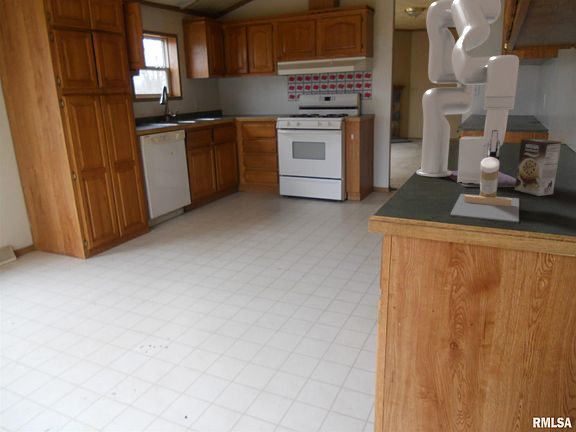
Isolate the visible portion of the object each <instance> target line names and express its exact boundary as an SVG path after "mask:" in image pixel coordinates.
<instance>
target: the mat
mask: <svg viewBox="0 0 576 432" xmlns="http://www.w3.org/2000/svg"><path fill="white" fill-rule="evenodd" d="M449 217H458V218H471V219H480V220H490V221H498V222H507V223H508V222H509V223H520V198H519V197H518V198H517V197H505V196H496V198H495V197H482V196H480V194H470V193H469V194H468V193H460V194H459V196H458V198H457V200H456V202H455V204H454V206H453V208H452V210H451V212H450V214H449Z"/></svg>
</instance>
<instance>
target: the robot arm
mask: <svg viewBox="0 0 576 432" xmlns="http://www.w3.org/2000/svg"><path fill="white" fill-rule="evenodd" d="M501 11H502V3H501V0H436V1H434V2H432V3H431V4H430V5H429V7H428V9H427V12H426V19H425V20H426V30H427V31H426V32H427V35H428V41H429V51H428V66H427V67H428V68H427V69H428V70H427V73H428V79H429V82H431V83H432V84H456V87H455V86H453V87H450V86H449V87H447V86H446V87H432V88H430V89H429V88H428V90H426V91H425V92H424V93H423V95H422V100H421V103H422V114H423V125H422V127H423V129H422V130H423V131H422V146H421V160H420V161H421V163H420V168H418V169H417V170H416V175H418V176H422V177H429V178H430V177H431V178H442V177H443V178H445V177H449V176H451V175H452V171H451V169H450V170H449V169H448V165H449V152H450V151H449V150H450V149H449V148H450V139H451V125H450V123H449V121H448V119H447V118H446V116H447V115H464V114H467V113H469V112H470V110H471V109H472V107H473V103H474V96H475V85H485V88H484V99H483V108H482V109H483V110H484V111H485V110H486V115H485V121H484V128H483V129H484V130H483V131H484V133H483V137H484V138H483V146H486V145H487V144H488V147H487V157H494V158H496V159H498V160H499V161H500V156H499V155H500V148H501V147H502V146H503V144H504V141H505V137H506V130H507V126H508V125H507V124H508V116H509V111H510V110H514V109H515V108H514V107H515V102H516V101H515V99H516V92H517V85H518V76H519V75H518V74H519V66H520V59H519V57H518V56H517V55H515V54H503V55H494V56H490V55H489V56H470V55H469V54H468V53H467V52H469V51H470V50H473V49H475V48H477V47H480V46H481V45H483V43H484V42H486V41H487V39H488V38H489V37H490V35H491V28H490V25H491V24H493V23H495V22H496V21H497V20H498V19H499V17H500V15H501V13H502V12H501ZM449 28H455V30H456V32H457V36H458V39H457V41H456V40H455V37H454V35H453V34H452V32H451V30H449Z"/></svg>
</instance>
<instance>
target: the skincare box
mask: <svg viewBox="0 0 576 432" xmlns="http://www.w3.org/2000/svg"><path fill="white" fill-rule="evenodd" d="M483 138H484V136H469V135H468V136H467V135H466V136H465V135H464V136H462V137H460V138H459V142H458V143H459V147H458V161H457V163H458V164H457V183H458V182H462V183H461V184H468V183H474V184H473V185H480V181H481V161H482V160H483V159H484V158H487V156H488V146H489V143H488V144H487V145H486V146H483ZM458 184H459V183H458Z"/></svg>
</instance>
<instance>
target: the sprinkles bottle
mask: <svg viewBox="0 0 576 432" xmlns="http://www.w3.org/2000/svg"><path fill="white" fill-rule="evenodd" d="M499 169H500V159H499V160H498V159H496V158H494V157H487V158H484V159H483V160H482V161H481V181H480V184H479V189H480V190H479V195H480V196H482V197H495V198H496V197H498V194H497V190H498V180H499Z"/></svg>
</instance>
